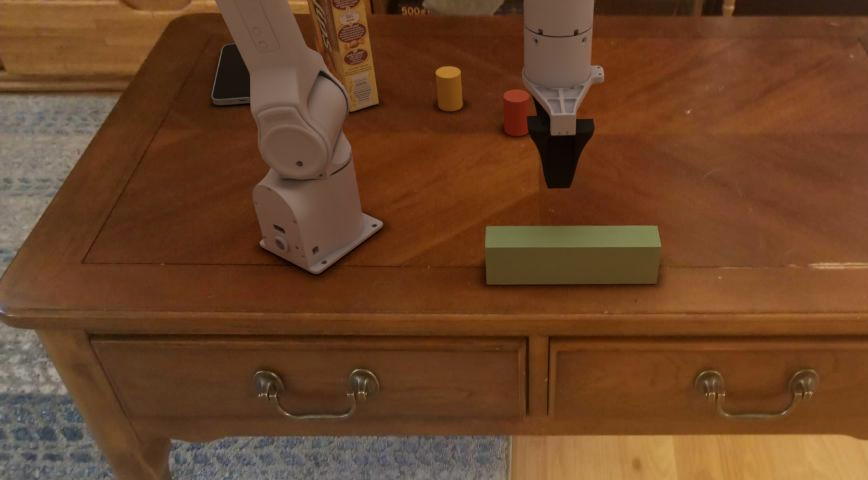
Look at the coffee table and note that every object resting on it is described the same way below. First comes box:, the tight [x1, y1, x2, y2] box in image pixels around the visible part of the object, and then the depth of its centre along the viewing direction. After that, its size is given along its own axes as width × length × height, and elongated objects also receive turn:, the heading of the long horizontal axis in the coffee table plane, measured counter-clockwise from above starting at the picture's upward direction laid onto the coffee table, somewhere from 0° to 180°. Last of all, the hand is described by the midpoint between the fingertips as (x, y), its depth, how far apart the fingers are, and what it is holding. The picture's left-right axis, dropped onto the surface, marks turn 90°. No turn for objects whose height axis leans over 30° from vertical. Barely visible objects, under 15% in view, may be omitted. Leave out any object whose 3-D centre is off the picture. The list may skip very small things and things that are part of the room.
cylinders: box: [435, 65, 531, 137], centre depth 100 cm, size 3×13×4 cm, turn 56°
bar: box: [484, 225, 662, 286], centre depth 79 cm, size 16×3×4 cm, turn 91°
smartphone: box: [211, 42, 250, 106], centre depth 108 cm, size 7×1×15 cm
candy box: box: [306, 0, 380, 113], centre depth 100 cm, size 9×4×15 cm, turn 33°
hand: (555, 162), depth 79 cm, fingers open, 7 cm apart
